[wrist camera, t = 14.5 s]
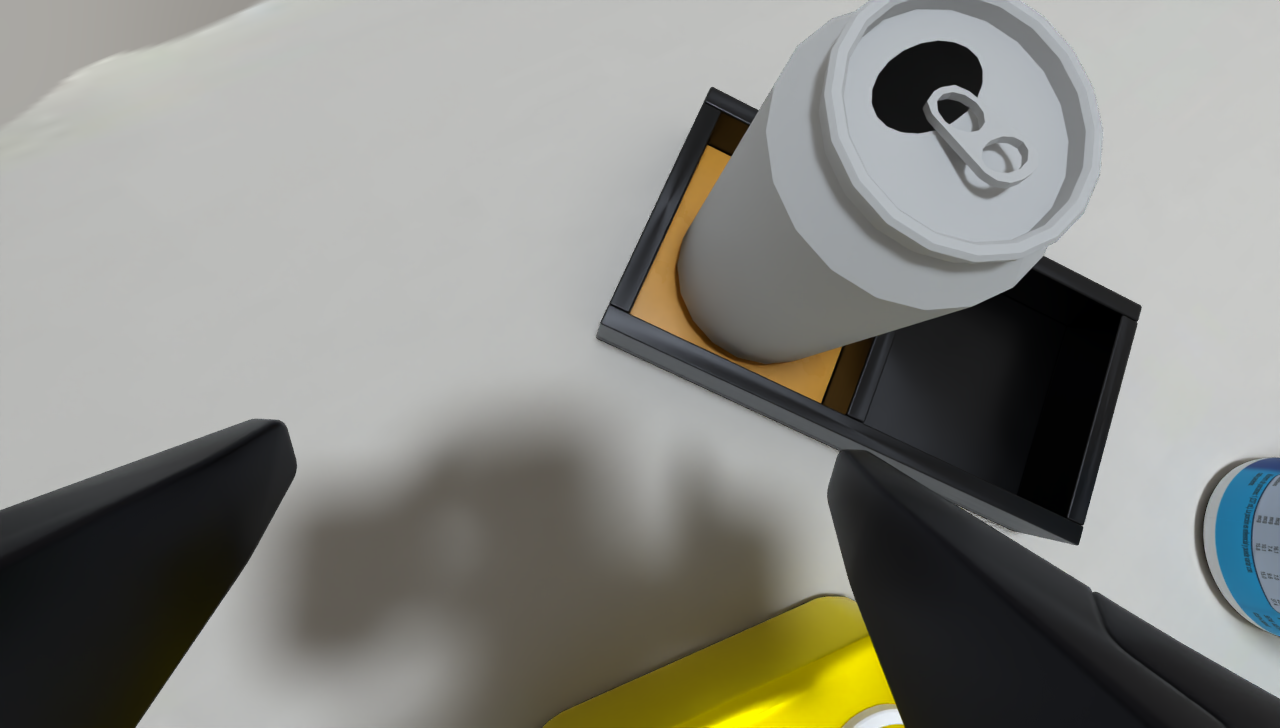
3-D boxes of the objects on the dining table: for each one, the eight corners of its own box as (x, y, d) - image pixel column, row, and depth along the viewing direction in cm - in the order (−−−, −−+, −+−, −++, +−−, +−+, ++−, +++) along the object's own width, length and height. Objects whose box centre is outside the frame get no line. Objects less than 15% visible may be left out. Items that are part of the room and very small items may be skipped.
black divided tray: (693, 128, 23) (711, 85, 20) (1074, 320, 25) (1143, 305, 22) (595, 338, 21) (600, 323, 18) (1013, 531, 23) (1079, 546, 20)
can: (779, 166, 23) (1005, -116, 11) (873, 308, 23) (1207, 175, 11) (638, 249, 21) (724, 27, 10) (737, 401, 21) (950, 364, 9)
